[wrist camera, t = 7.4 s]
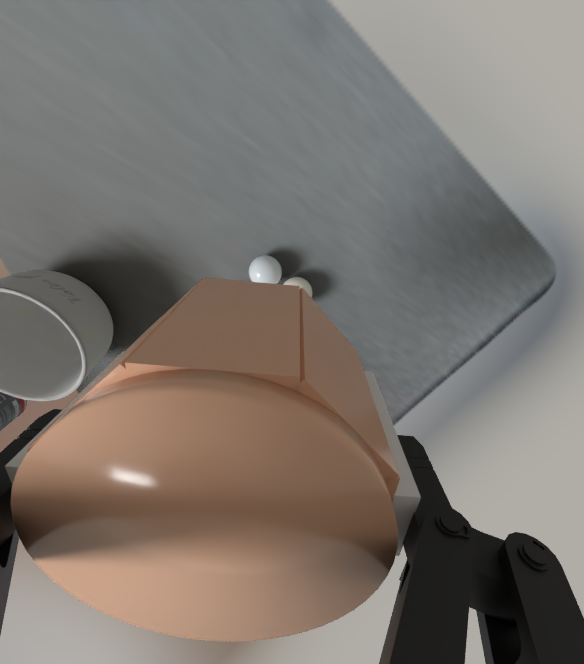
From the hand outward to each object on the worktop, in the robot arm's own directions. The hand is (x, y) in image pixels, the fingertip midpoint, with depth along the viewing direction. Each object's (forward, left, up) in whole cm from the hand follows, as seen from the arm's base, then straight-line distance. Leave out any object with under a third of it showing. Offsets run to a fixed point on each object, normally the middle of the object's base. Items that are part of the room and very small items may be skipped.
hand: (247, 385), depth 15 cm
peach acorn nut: (0, 0, -1) cm, 1 cm away
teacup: (+5, -22, -18) cm, 29 cm away
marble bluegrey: (-1, -1, -16) cm, 16 cm away
